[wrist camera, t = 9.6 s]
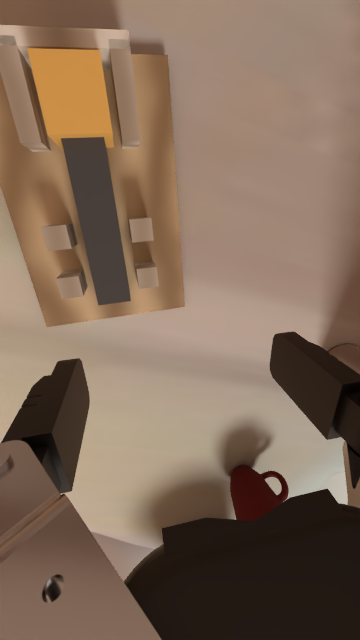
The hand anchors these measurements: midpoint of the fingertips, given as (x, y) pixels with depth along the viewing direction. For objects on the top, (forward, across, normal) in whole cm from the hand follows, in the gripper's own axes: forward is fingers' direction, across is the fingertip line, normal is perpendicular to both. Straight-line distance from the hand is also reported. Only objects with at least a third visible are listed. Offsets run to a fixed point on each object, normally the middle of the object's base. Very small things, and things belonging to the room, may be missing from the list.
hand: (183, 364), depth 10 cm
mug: (+21, -15, +40) cm, 48 cm away
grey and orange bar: (+19, +4, -6) cm, 21 cm away
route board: (+20, +4, -6) cm, 22 cm away
